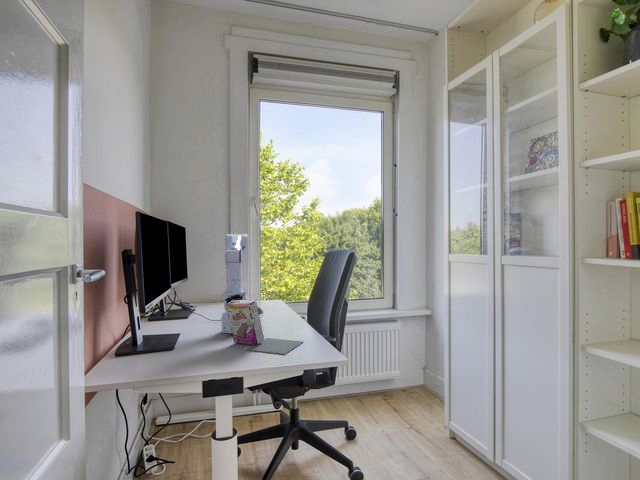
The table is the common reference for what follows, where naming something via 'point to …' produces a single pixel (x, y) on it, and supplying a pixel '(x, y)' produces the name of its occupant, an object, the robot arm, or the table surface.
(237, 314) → the candy bar box
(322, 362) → the table surface
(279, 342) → the charcoal mat
